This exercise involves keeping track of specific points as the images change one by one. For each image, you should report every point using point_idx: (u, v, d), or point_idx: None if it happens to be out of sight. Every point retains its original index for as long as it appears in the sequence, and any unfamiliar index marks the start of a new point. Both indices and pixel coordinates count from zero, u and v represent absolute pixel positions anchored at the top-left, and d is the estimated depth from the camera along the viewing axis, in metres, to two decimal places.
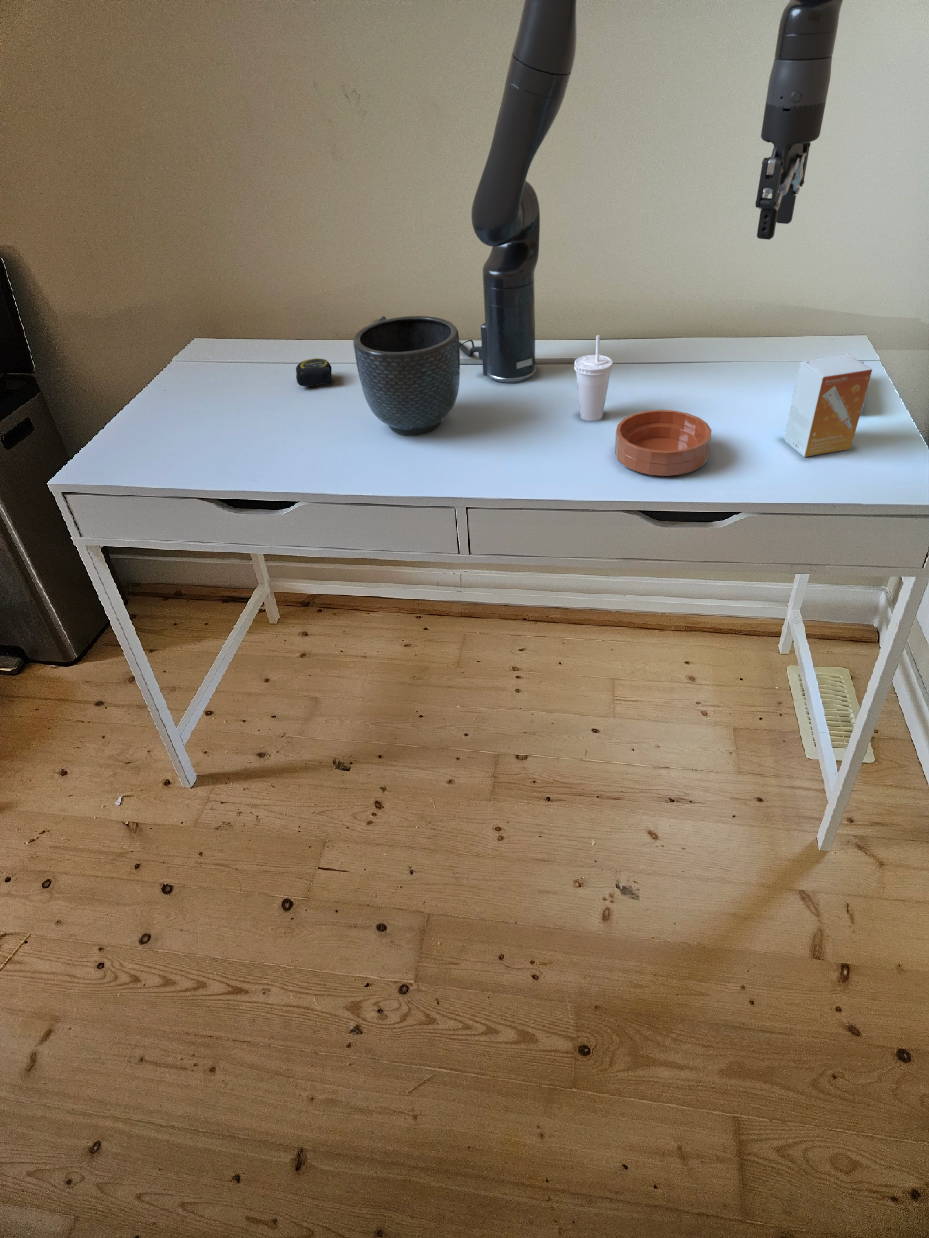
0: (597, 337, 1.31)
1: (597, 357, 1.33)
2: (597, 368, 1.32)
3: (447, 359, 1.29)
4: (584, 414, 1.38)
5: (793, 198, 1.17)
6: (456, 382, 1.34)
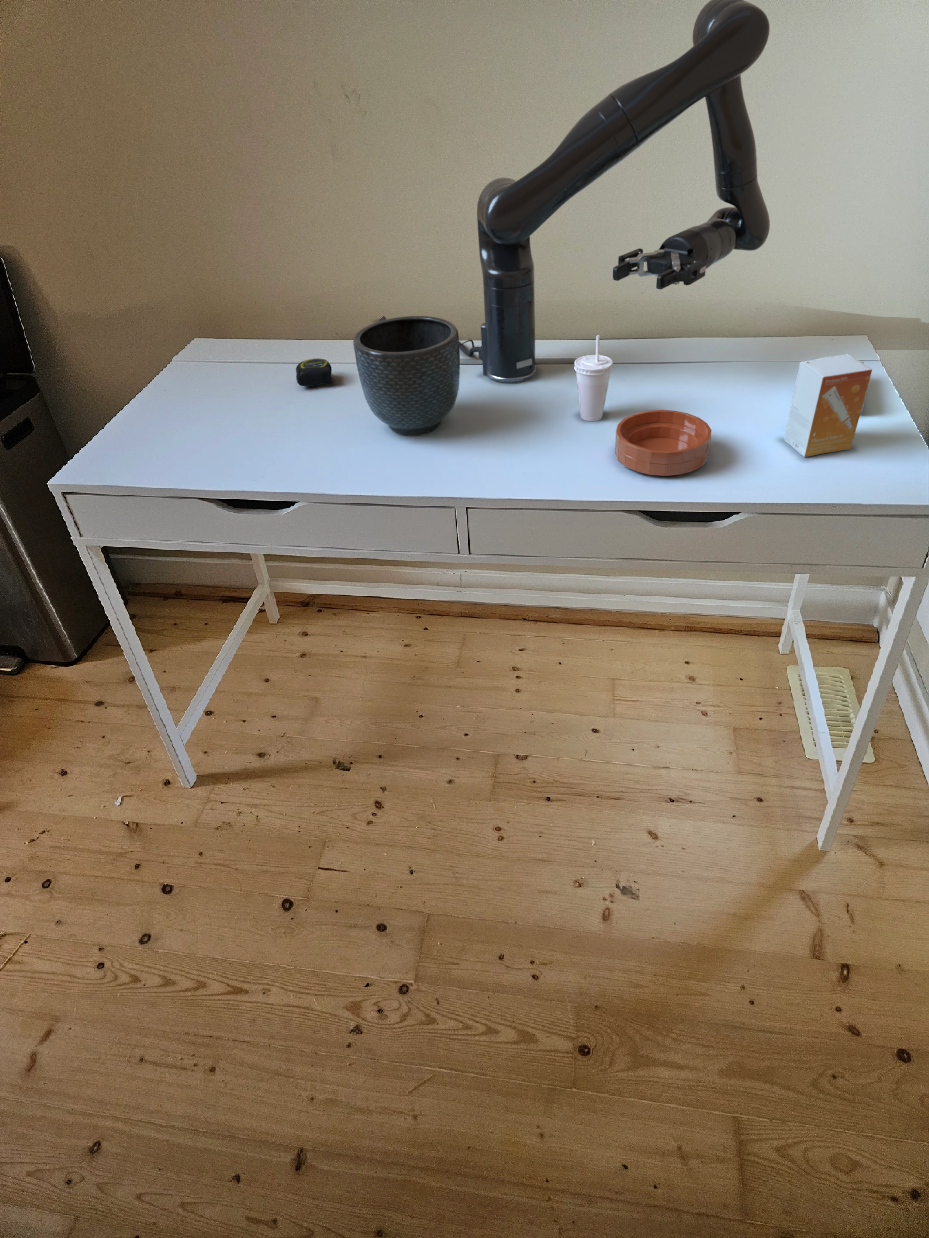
0: (597, 337, 1.31)
1: (597, 357, 1.33)
2: (597, 368, 1.32)
3: (447, 359, 1.29)
4: (584, 414, 1.38)
5: (628, 274, 1.38)
6: (456, 382, 1.34)
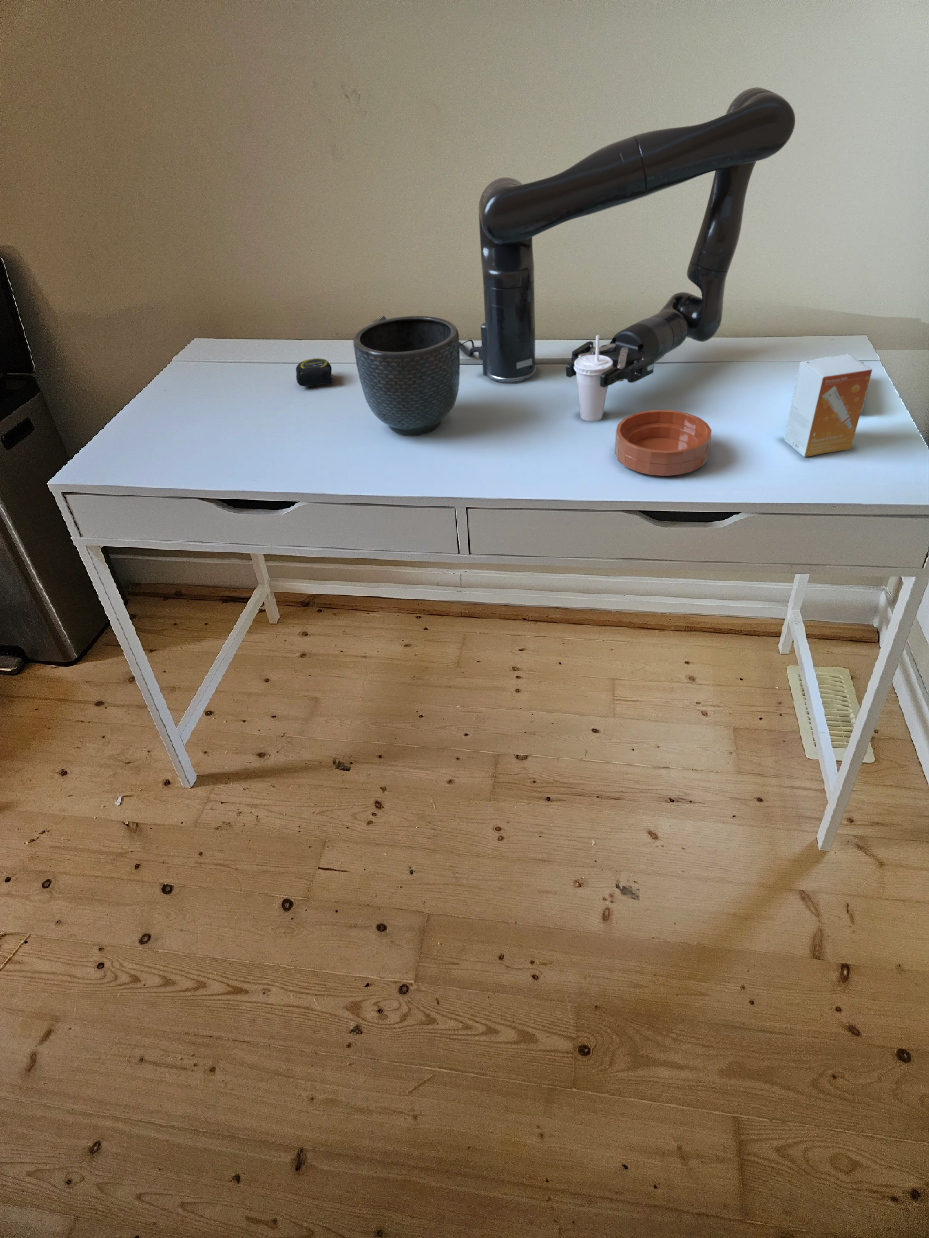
0: (597, 337, 1.31)
1: (597, 357, 1.33)
2: (597, 368, 1.32)
3: (447, 359, 1.29)
4: (584, 414, 1.38)
5: None
6: (456, 382, 1.34)
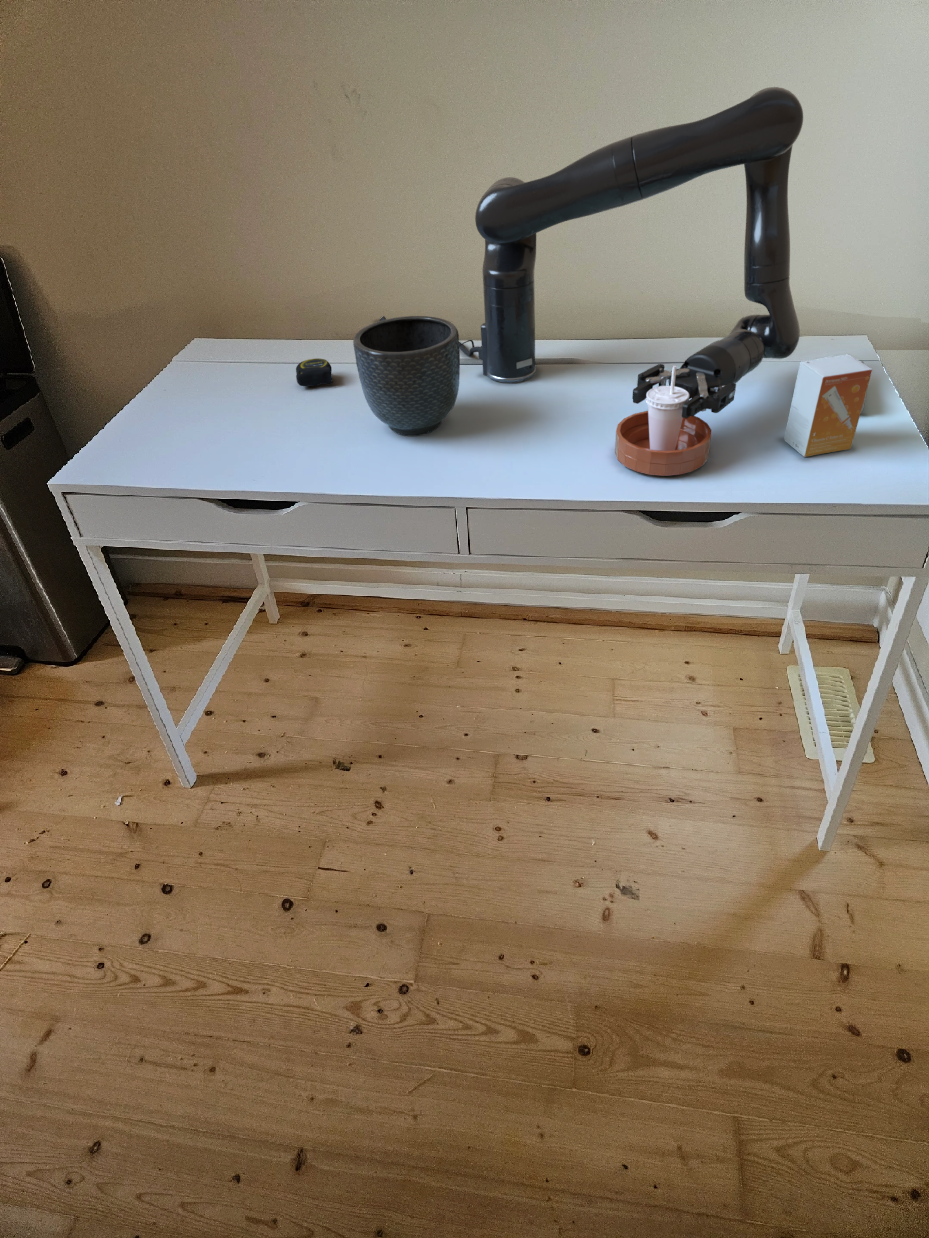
0: (673, 368, 1.18)
1: (672, 389, 1.20)
2: (672, 401, 1.19)
3: (447, 359, 1.29)
4: None
5: None
6: (456, 382, 1.34)
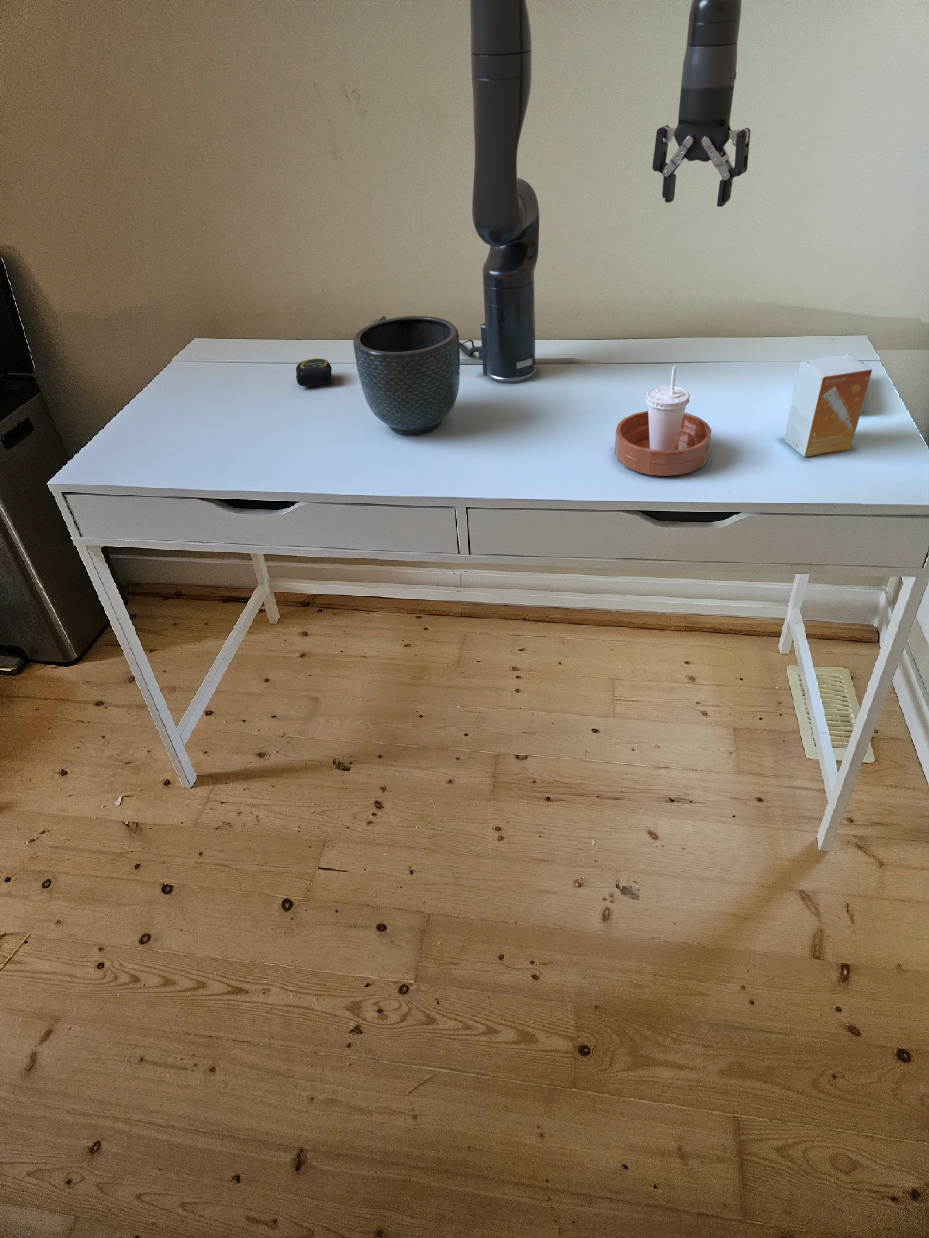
0: (673, 368, 1.18)
1: (672, 389, 1.20)
2: (672, 401, 1.19)
3: (447, 359, 1.29)
4: None
5: (675, 176, 1.29)
6: (456, 382, 1.34)
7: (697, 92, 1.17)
